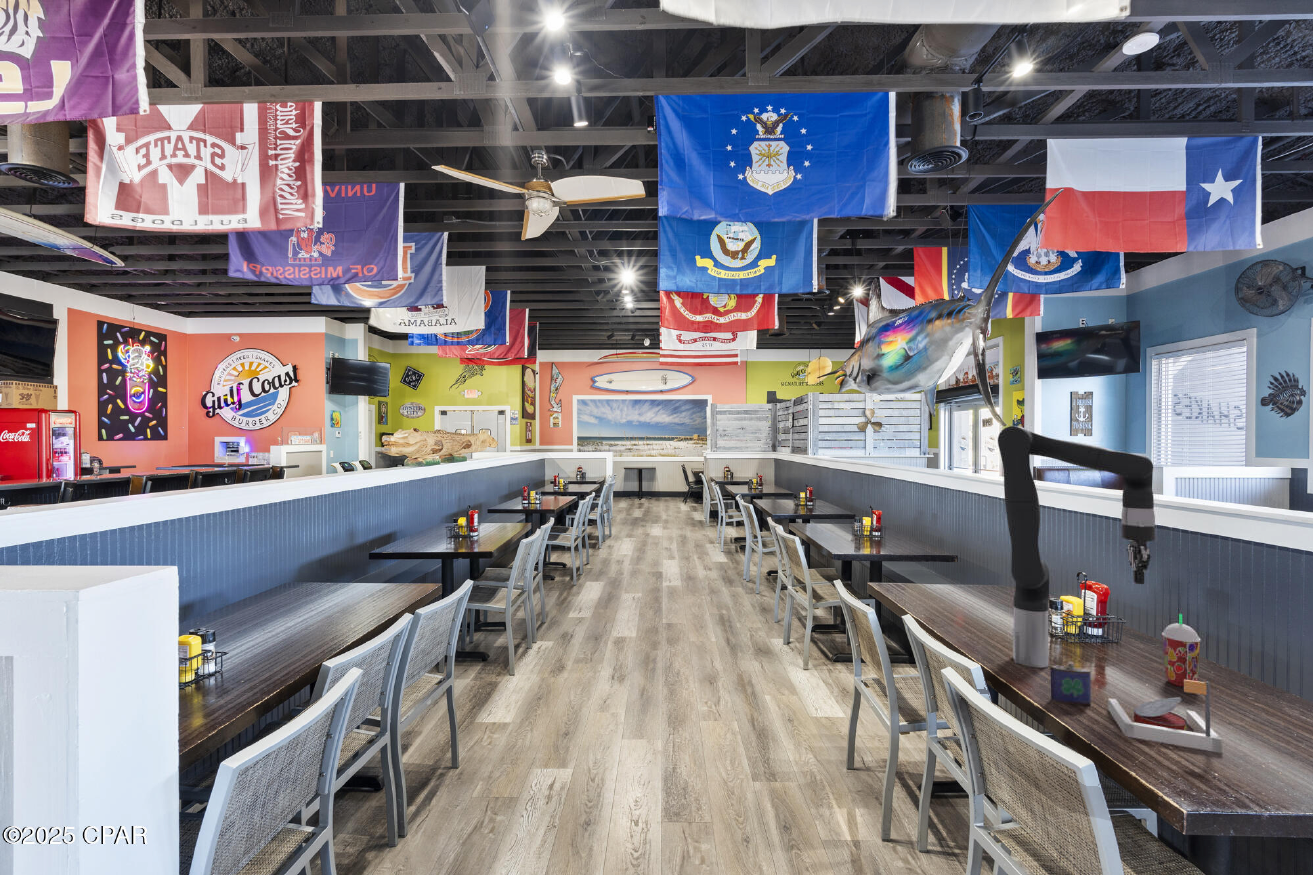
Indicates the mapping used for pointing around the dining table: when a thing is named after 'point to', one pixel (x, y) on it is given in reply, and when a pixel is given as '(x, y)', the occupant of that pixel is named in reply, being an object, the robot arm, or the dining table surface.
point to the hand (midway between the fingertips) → (1138, 583)
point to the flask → (1070, 685)
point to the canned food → (1160, 714)
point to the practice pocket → (1197, 739)
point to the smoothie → (1181, 653)
